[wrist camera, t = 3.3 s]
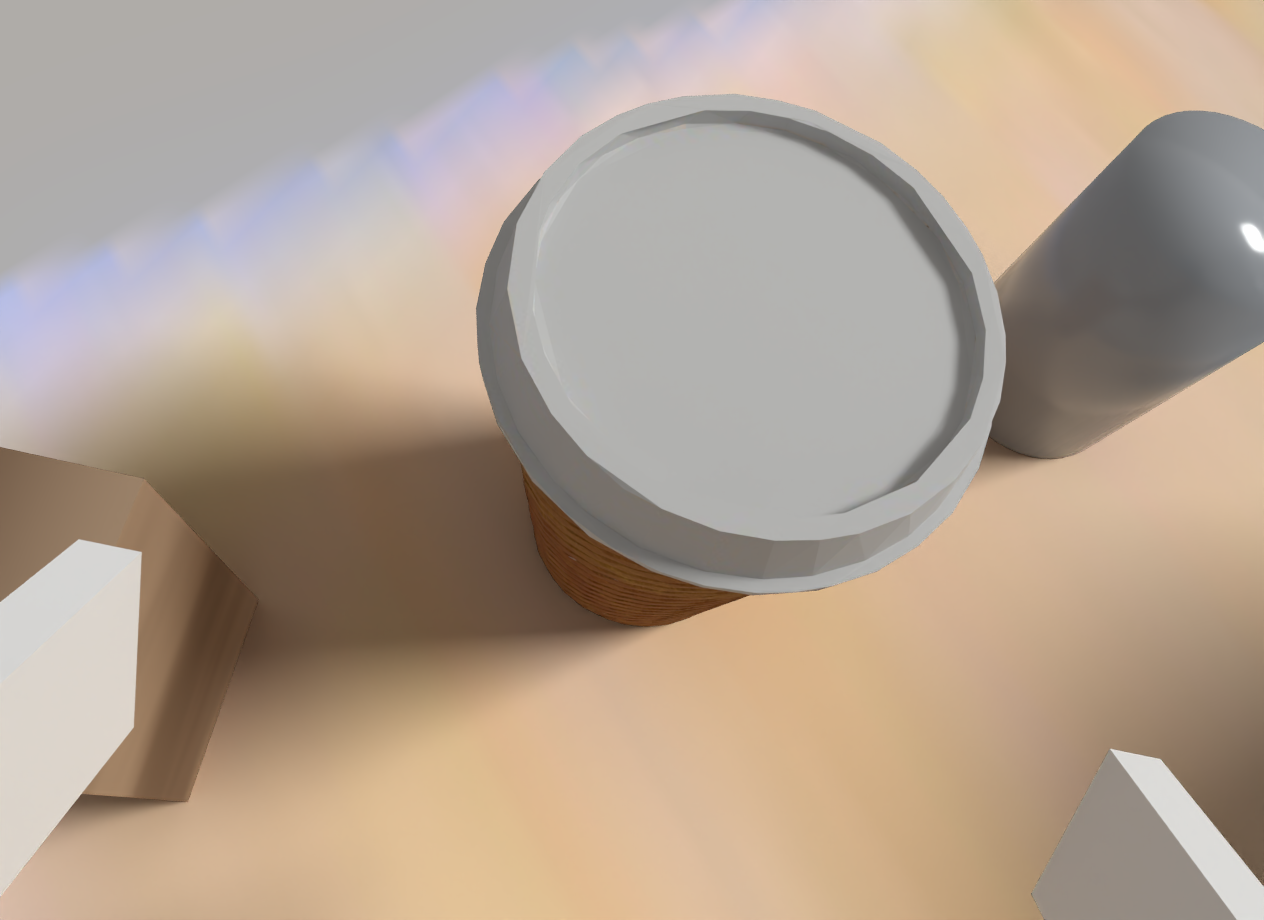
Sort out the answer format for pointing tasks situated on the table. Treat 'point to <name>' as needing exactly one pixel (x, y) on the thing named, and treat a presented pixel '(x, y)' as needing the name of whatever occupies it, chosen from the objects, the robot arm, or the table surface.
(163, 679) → the walnut block
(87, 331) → the table surface
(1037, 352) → the grey rounded cylinder
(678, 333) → the disposable coffee cup
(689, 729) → the table surface
